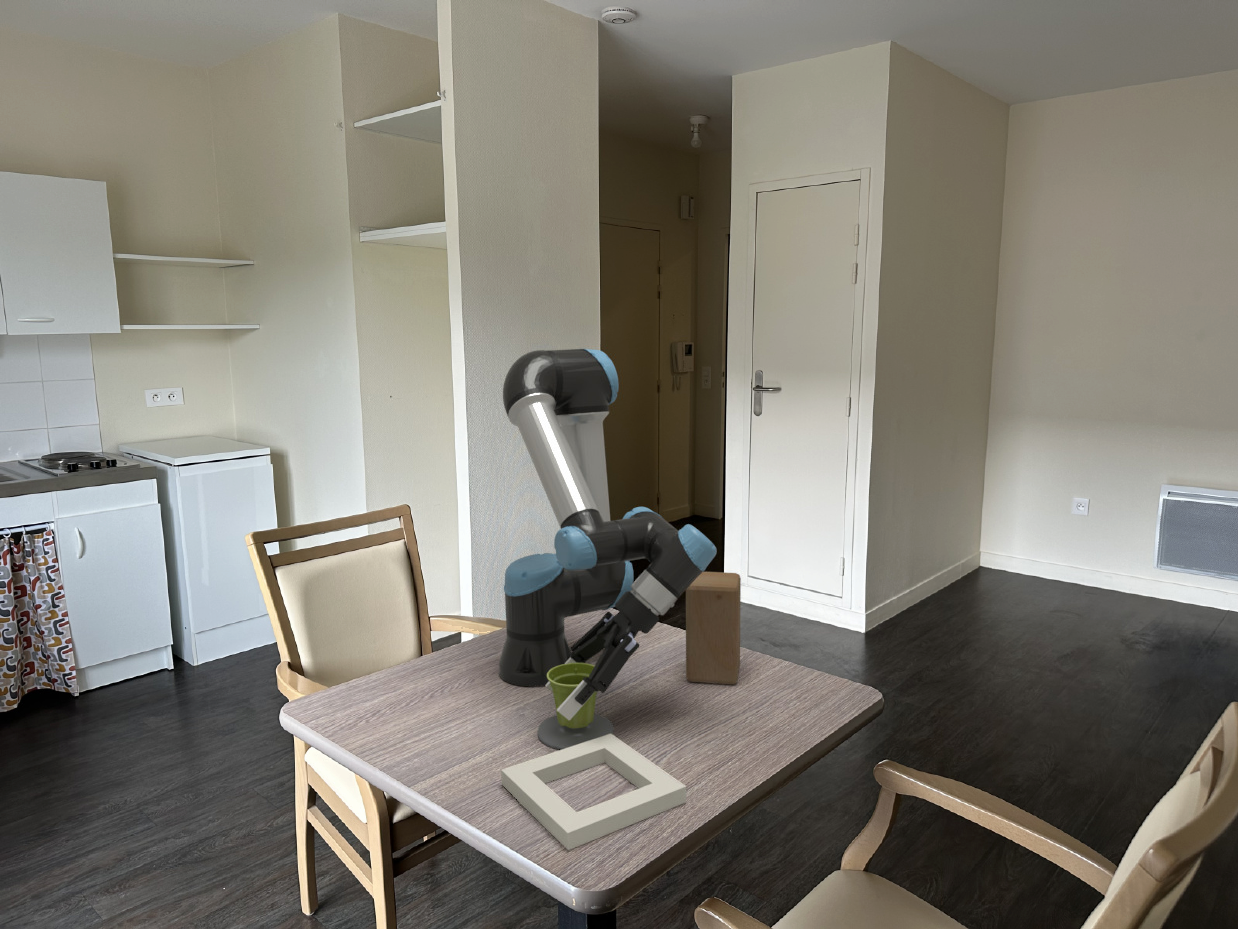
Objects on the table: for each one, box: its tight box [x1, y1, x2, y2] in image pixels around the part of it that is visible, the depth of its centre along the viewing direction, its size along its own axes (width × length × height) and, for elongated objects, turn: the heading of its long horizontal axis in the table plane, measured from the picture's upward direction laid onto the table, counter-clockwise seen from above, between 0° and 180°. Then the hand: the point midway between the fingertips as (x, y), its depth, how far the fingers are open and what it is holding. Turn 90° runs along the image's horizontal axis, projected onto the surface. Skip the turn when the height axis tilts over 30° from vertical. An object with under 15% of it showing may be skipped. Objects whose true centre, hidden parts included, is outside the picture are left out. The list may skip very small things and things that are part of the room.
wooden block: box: [685, 571, 742, 685], centre depth 167 cm, size 10×10×20 cm
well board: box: [500, 734, 687, 851], centre depth 126 cm, size 20×20×2 cm
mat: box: [537, 713, 615, 751], centre depth 145 cm, size 13×13×1 cm
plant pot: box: [547, 662, 598, 729], centre depth 144 cm, size 9×9×9 cm
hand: (557, 702), depth 143 cm, fingers closed on plant pot, 9 cm apart
